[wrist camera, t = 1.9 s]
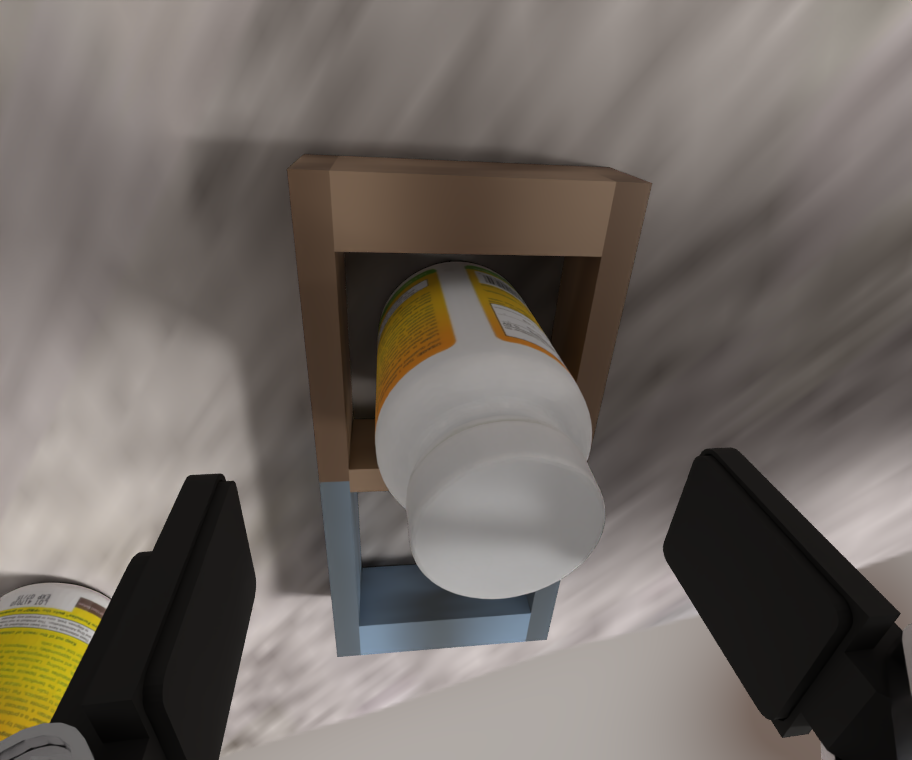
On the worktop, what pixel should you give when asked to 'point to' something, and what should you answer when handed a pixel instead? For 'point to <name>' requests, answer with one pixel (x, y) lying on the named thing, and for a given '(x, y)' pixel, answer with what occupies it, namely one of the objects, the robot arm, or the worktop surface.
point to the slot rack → (444, 232)
